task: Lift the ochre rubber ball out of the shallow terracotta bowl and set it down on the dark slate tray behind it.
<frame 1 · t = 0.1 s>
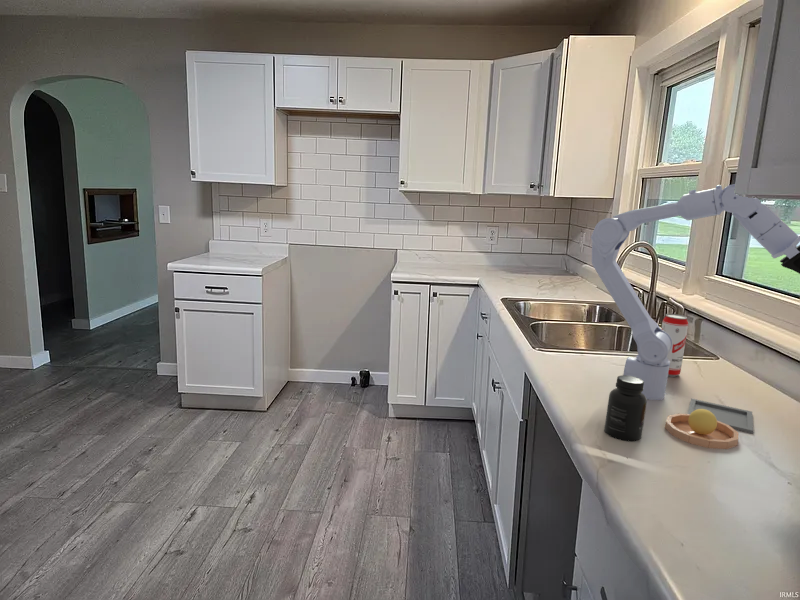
bowl: (699, 437, 109), on the worktop
tray: (719, 419, 119), on the worktop
supplement bottle: (621, 438, 107), on the worktop
beer can: (666, 374, 148), on the worktop
ball: (700, 433, 109), point 1 cm above the worktop, touching bowl
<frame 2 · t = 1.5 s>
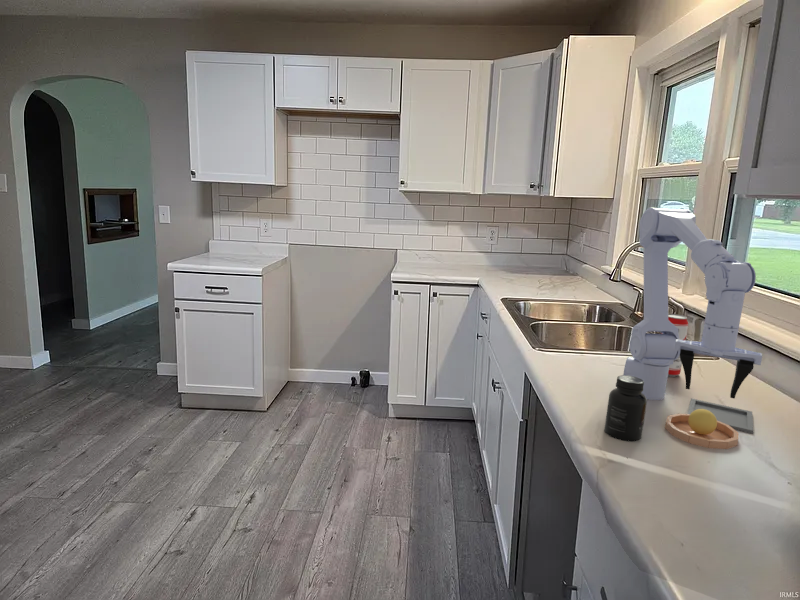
hand: (709, 392, 107), 10 cm above the worktop, tool pointing down, fingers open, 7 cm apart
nothing on the worktop moved.
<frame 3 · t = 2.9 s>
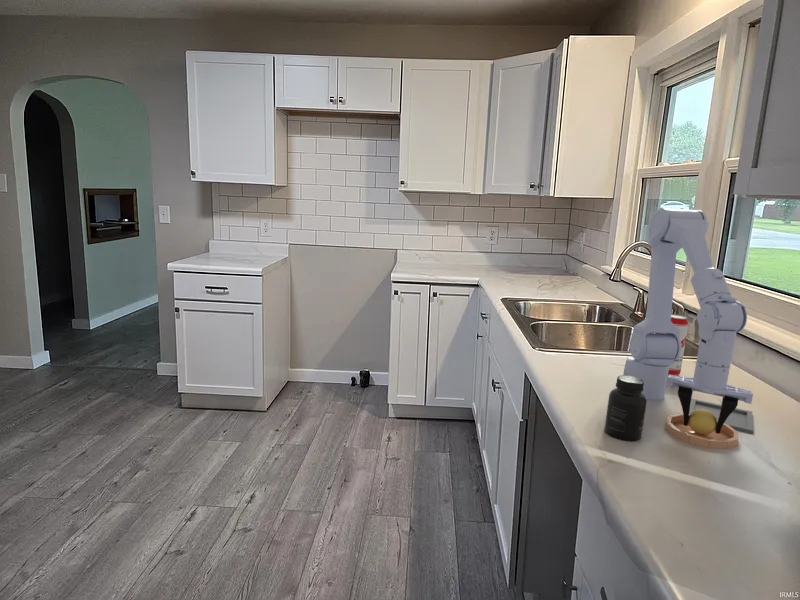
hand: (701, 427, 109), 2 cm above the worktop, tool pointing down, fingers closed on ball, 5 cm apart
ball: (700, 433, 109), point 1 cm above the worktop, touching bowl, gripper
everything else where it was.
when the fingers open (3 cm above the worktop, at t = 6.3 s): ball stays where it is, resting on tray.
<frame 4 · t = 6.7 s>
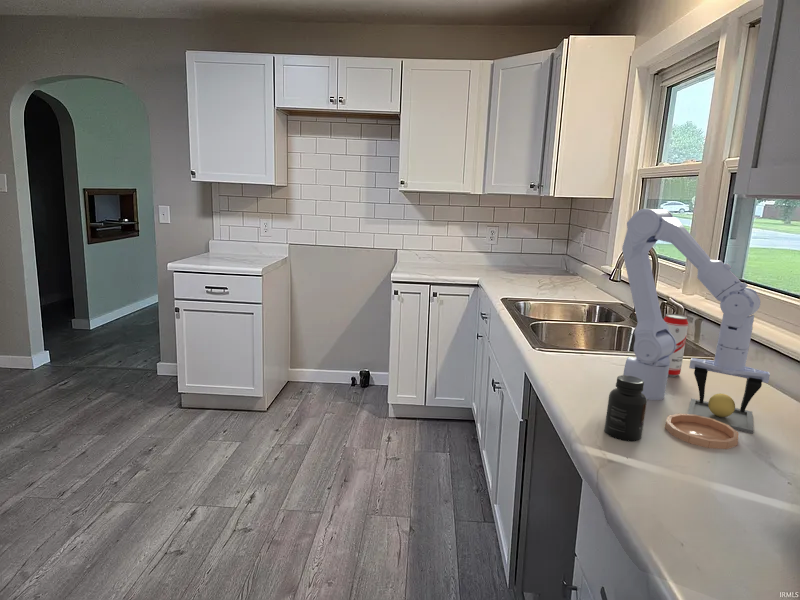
hand: (721, 406, 118), 3 cm above the worktop, tool pointing down, fingers open, 7 cm apart
ball: (719, 416, 118), point 1 cm above the worktop, touching tray
everything else where it was.
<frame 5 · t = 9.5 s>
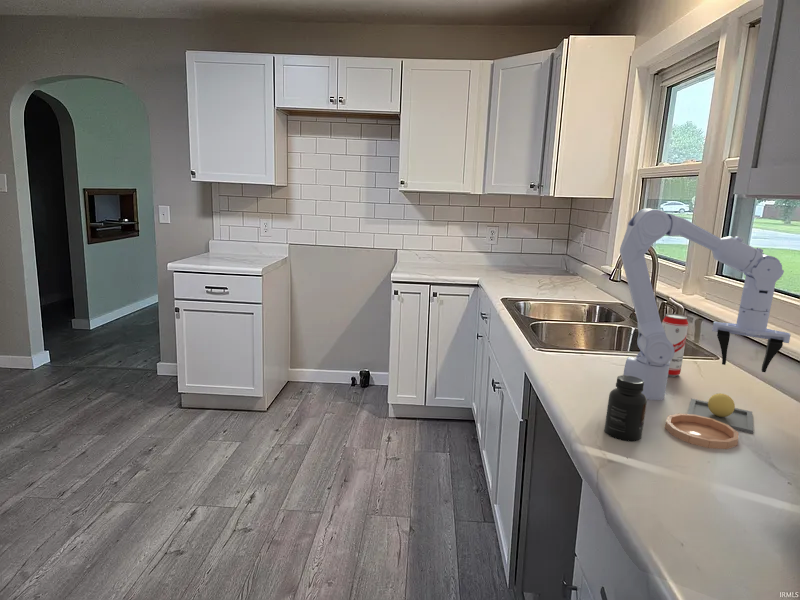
hand: (743, 367, 124), 10 cm above the worktop, tool pointing down, fingers open, 7 cm apart
nothing on the worktop moved.
at the end: ball inside the target area on the tray (0.1 cm from its centre), point 0.8 cm above the tray's base; ball touching tray; the gripper is holding nothing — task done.
